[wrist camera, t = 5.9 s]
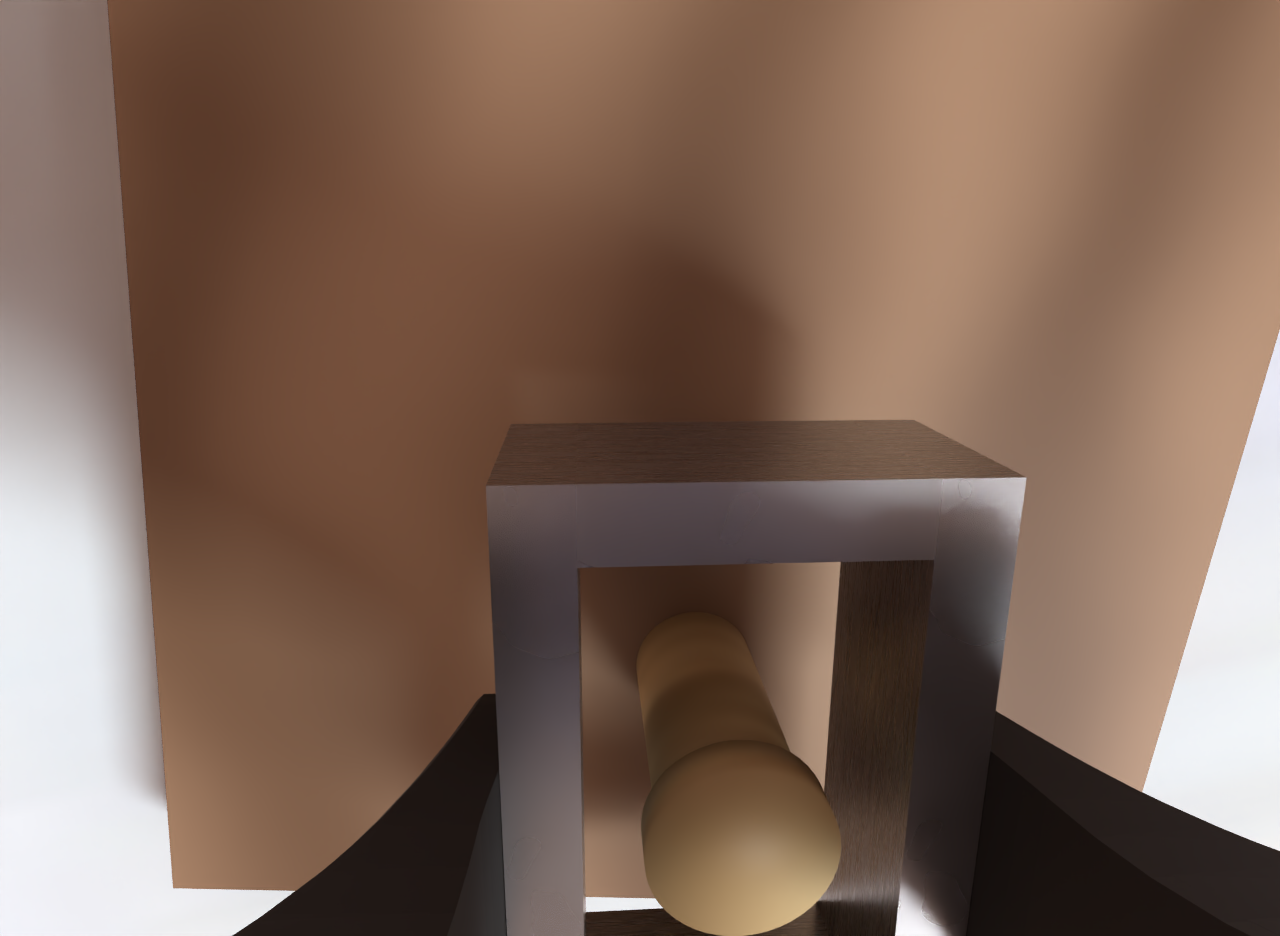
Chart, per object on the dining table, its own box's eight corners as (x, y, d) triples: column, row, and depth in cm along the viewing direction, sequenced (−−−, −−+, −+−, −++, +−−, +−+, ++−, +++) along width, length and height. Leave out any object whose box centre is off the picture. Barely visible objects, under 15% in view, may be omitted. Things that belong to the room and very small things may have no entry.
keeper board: (1454, -566, 11) (2369, -1410, 6) (1065, 853, 18) (1301, 1155, 12) (112, -841, 10) (-581, -2439, 4) (209, 830, 16) (-3, 1166, 10)
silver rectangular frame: (913, 419, 11) (1027, 477, 8) (864, 941, 14) (940, 1126, 11) (510, 423, 11) (484, 486, 8) (531, 960, 13) (518, 1156, 10)
